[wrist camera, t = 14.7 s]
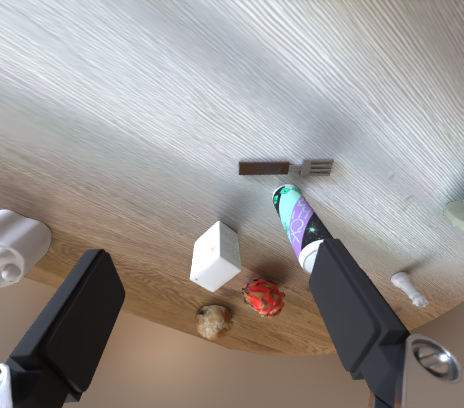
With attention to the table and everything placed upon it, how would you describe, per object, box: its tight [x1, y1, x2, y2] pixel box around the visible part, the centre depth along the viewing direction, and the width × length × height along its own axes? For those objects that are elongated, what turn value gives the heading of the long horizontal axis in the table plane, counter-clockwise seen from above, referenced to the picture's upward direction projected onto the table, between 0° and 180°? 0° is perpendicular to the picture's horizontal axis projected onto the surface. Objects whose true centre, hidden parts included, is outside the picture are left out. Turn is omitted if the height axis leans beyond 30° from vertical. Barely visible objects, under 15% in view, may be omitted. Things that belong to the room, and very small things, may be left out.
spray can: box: [272, 184, 334, 275], centre depth 34 cm, size 6×6×20 cm
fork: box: [239, 159, 334, 176], centre depth 39 cm, size 17×3×1 cm, turn 89°
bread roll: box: [195, 305, 234, 340], centre depth 59 cm, size 10×10×8 cm
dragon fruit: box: [242, 278, 285, 318], centre depth 52 cm, size 8×8×12 cm
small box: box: [190, 221, 242, 292], centre depth 42 cm, size 8×6×10 cm
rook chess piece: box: [391, 272, 429, 308], centre depth 53 cm, size 4×4×8 cm
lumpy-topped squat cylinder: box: [0, 210, 52, 287], centre depth 40 cm, size 10×13×9 cm
